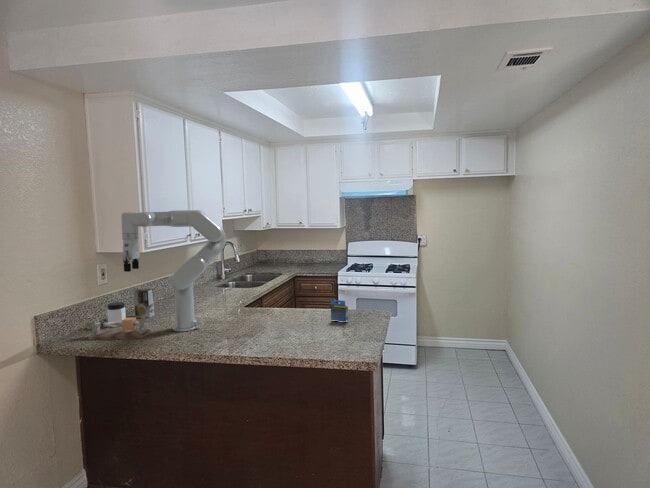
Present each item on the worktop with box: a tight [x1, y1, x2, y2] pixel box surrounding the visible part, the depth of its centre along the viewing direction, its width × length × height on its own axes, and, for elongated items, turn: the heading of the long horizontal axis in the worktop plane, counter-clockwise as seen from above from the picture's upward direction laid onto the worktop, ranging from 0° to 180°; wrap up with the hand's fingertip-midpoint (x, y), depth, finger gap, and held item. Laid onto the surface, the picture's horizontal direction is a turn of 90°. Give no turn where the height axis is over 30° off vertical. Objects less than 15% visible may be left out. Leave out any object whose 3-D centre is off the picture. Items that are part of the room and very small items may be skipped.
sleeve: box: [121, 316, 138, 330], centre depth 211 cm, size 5×5×5 cm
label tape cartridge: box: [330, 299, 349, 321], centre depth 229 cm, size 9×4×12 cm, turn 65°
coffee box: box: [133, 288, 156, 319], centre depth 248 cm, size 9×6×16 cm
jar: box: [106, 301, 127, 328], centre depth 231 cm, size 9×8×12 cm
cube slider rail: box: [86, 318, 151, 341], centre depth 211 cm, size 28×10×8 cm, turn 94°
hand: (131, 270), depth 215 cm, fingers open, 9 cm apart
